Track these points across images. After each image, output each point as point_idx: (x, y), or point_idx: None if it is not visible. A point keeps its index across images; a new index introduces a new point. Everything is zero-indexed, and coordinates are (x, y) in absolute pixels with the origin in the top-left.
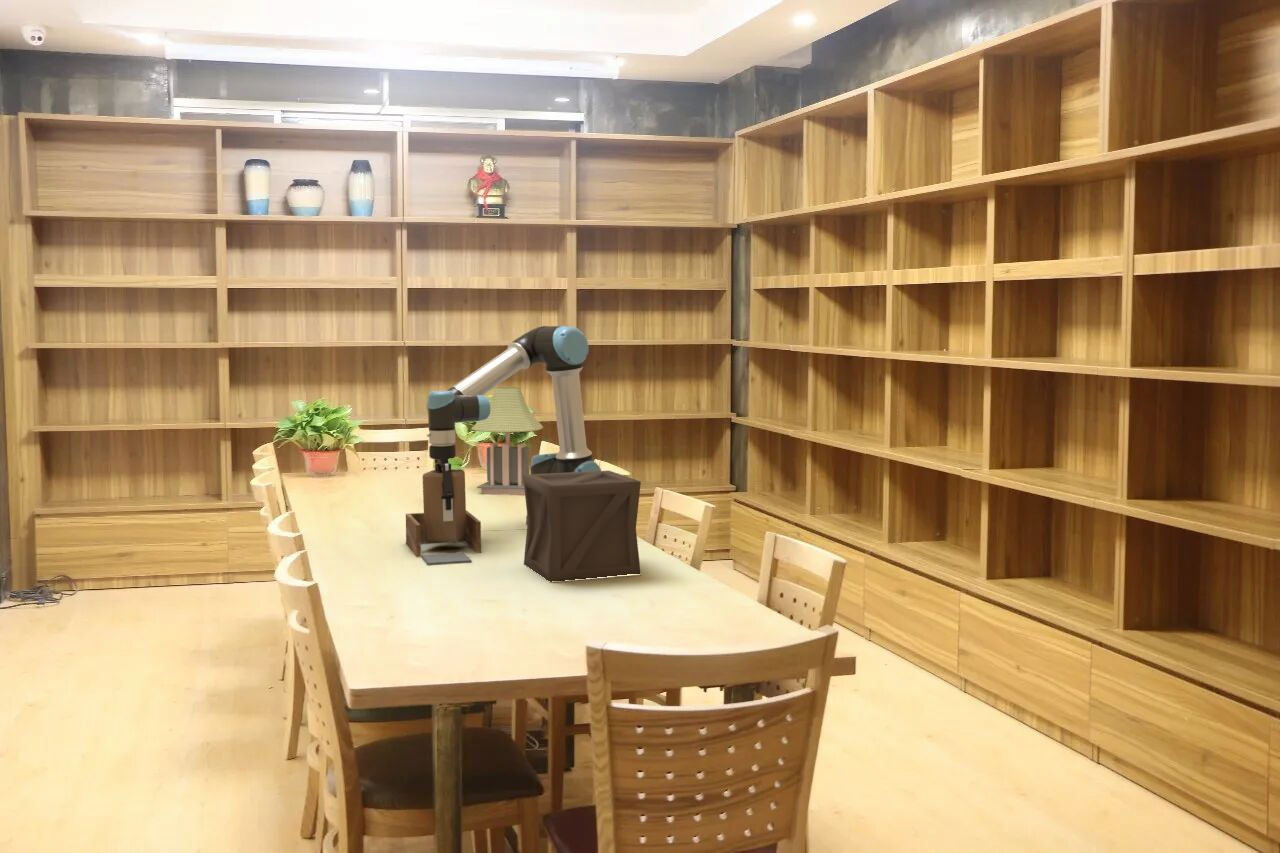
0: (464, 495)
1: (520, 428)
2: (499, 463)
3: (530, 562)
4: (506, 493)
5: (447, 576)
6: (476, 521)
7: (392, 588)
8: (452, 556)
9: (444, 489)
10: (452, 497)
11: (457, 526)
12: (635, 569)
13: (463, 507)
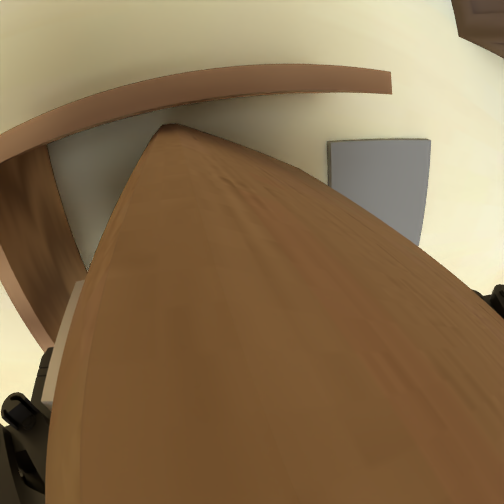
0: (233, 178)
1: None
2: None
3: (496, 49)
4: None
5: (485, 206)
6: (380, 90)
7: (489, 275)
8: (378, 184)
9: None
10: (475, 292)
11: (323, 183)
12: None
13: (245, 162)
